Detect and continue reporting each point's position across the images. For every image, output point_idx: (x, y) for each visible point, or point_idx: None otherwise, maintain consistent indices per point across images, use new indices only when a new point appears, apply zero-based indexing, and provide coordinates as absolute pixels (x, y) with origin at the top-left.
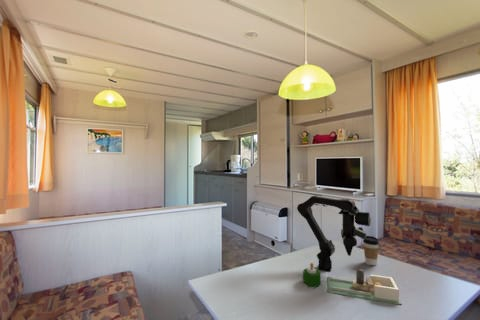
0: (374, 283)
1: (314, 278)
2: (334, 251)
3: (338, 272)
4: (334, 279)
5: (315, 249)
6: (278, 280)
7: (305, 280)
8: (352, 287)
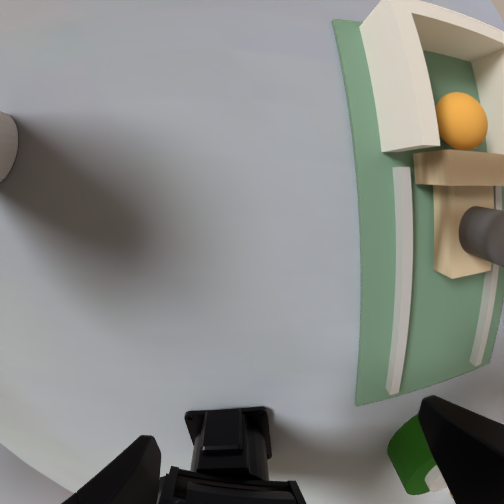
0: (478, 137)
1: None
2: (192, 494)
3: (253, 364)
4: (399, 373)
5: (17, 443)
6: (412, 498)
7: None
8: None
